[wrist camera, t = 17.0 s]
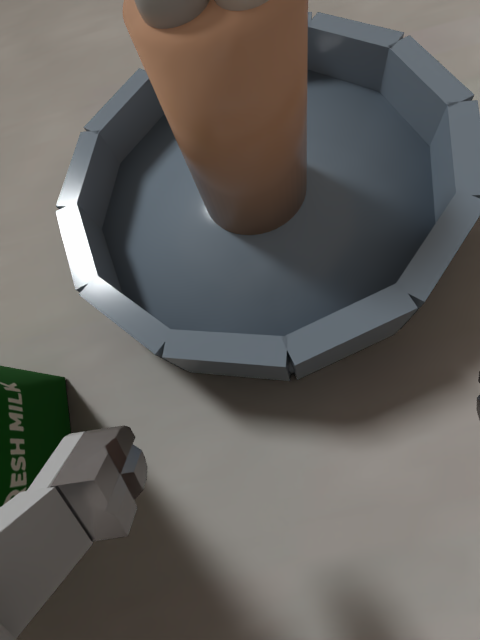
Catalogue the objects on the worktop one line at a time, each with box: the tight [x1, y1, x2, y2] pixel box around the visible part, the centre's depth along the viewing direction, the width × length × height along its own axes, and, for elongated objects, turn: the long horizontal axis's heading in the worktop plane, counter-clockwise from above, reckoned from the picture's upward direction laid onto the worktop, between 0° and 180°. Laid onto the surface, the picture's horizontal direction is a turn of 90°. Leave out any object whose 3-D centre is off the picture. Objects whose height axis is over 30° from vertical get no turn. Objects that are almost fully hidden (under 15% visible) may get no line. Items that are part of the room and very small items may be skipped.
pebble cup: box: [123, 0, 308, 235], centre depth 13 cm, size 6×6×10 cm
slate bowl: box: [56, 12, 480, 381], centre depth 18 cm, size 20×20×4 cm
